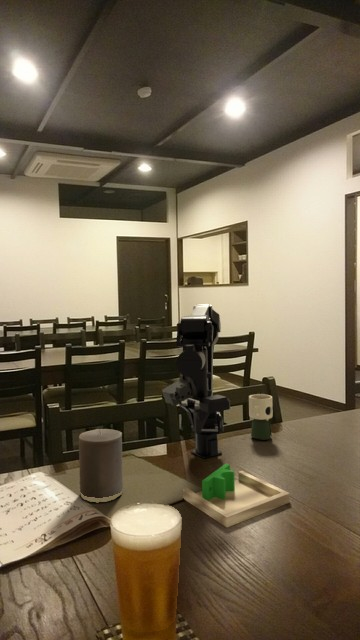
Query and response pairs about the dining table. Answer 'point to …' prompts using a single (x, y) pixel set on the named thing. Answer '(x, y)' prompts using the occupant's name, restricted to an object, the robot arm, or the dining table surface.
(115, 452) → the pillar candle
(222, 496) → the pipe clamp
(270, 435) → the character mug
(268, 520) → the dining table surface
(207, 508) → the corral
